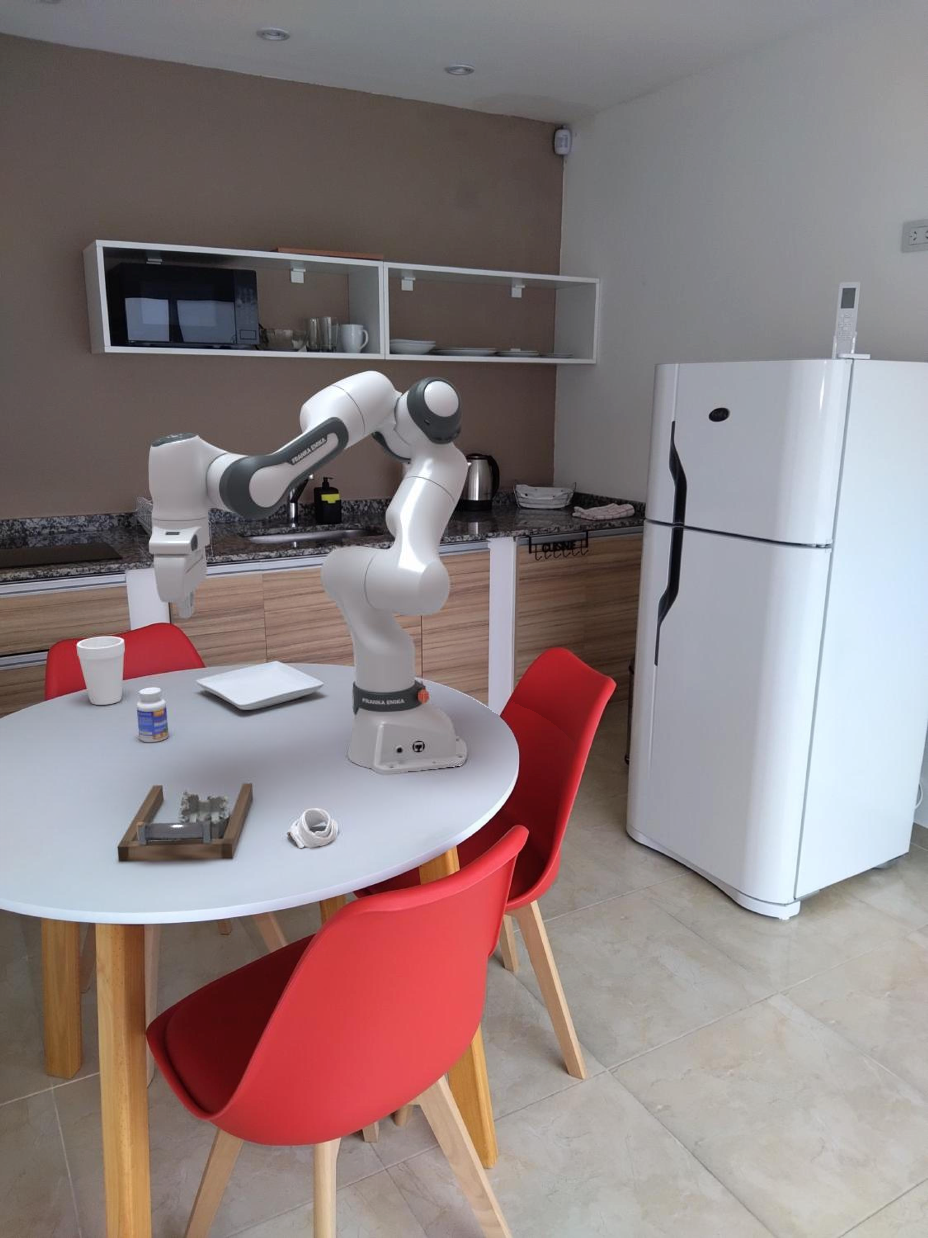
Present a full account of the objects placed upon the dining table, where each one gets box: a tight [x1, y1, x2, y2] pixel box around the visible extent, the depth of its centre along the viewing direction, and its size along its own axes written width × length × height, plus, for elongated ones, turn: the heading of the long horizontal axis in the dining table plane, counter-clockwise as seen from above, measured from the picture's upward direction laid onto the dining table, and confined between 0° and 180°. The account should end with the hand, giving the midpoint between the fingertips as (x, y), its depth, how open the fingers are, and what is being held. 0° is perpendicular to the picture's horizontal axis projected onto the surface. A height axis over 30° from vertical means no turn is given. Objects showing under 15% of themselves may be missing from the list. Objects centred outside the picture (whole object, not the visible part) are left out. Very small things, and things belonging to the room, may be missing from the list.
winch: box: [136, 821, 212, 846], centre depth 127 cm, size 10×2×3 cm, turn 95°
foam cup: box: [76, 635, 126, 706], centre depth 191 cm, size 10×9×13 cm
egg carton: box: [177, 789, 232, 840], centre depth 137 cm, size 11×8×4 cm
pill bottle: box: [136, 686, 169, 743], centre depth 171 cm, size 5×5×10 cm
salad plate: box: [195, 660, 325, 711], centre depth 198 cm, size 21×21×3 cm
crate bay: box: [116, 782, 254, 863], centre depth 137 cm, size 16×20×3 cm
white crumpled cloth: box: [286, 807, 339, 849], centre depth 135 cm, size 8×7×5 cm
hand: (186, 616), depth 149 cm, fingers closed
